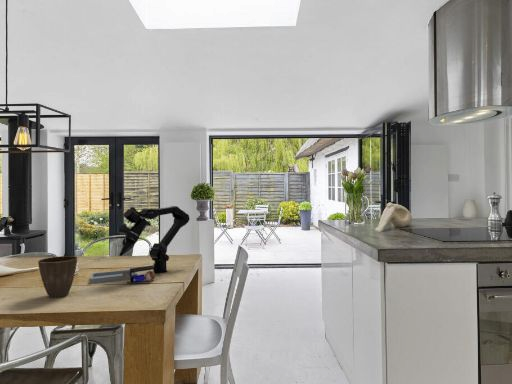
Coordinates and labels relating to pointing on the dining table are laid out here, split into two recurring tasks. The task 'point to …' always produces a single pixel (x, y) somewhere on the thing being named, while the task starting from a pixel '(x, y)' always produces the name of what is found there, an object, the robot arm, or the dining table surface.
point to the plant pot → (57, 274)
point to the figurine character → (148, 276)
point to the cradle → (109, 276)
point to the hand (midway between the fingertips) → (121, 254)
